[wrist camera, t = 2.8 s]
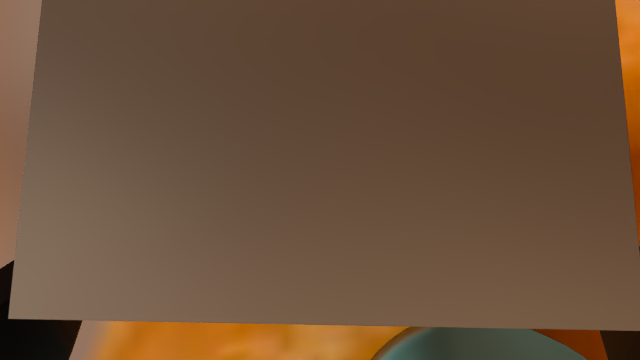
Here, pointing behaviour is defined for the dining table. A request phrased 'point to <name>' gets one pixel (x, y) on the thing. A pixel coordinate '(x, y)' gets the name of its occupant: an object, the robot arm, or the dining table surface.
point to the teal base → (473, 345)
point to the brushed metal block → (329, 165)
